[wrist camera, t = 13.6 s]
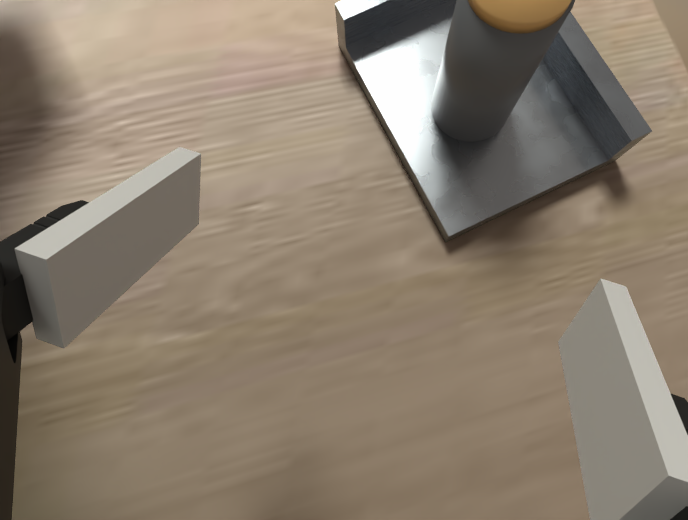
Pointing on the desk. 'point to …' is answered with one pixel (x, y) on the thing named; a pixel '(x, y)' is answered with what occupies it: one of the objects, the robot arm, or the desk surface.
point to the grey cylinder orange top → (491, 62)
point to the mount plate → (519, 129)
